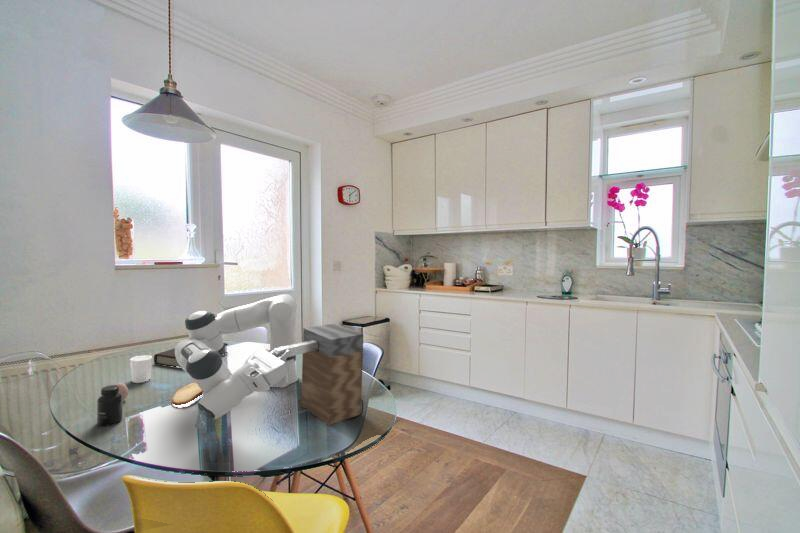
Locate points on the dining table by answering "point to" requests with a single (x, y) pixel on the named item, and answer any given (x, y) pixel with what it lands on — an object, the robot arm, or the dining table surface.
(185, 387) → the slice of bread
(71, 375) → the dining table surface
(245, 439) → the dining table surface
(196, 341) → the robot arm
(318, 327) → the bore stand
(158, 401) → the dining table surface
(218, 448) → the dining table surface
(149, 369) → the white cup
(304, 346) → the steel bar
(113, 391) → the supplement bottle
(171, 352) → the book
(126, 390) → the egg
